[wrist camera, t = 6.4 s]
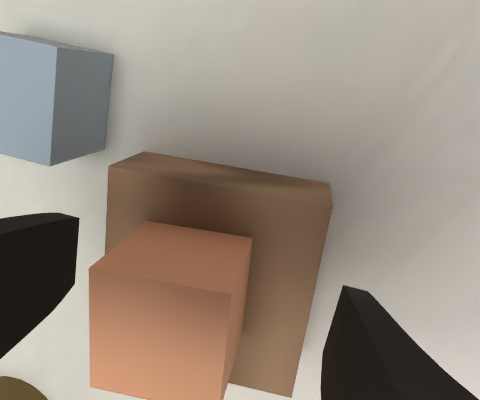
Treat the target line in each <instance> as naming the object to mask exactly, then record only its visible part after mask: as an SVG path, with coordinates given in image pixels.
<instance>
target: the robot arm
mask: <svg viewBox="0 0 480 400" xmlns="http://www.w3.org/2000/svg"><path fill="white" fill-rule="evenodd" d="M78 231H79V218H77V217H73V216H70V215H66V214H62V213H40V214H30V215H23V216H15V217H8V218H1V219H0V359H1V358H2V357H3V356H4V355H5V354H6V353H8V352H9V351H10V350H11V349H12V348H13V347H14V346H15V345H16V344H17V343H19V342H20V341H21V340H22V339H23V338H24V337H25V336H26V335H27V334H29V333H30V332H31V331H32V330H33V329H34V328H35V327H36V326H37V325H38V324H39V323H40V322H42V321H43V320H44V319H45V318H46V317H47V316H48V315H49V314H50V313H51V312H52V311H53V310H54V309H55V308H56V306H57V305H58V304H59V303H60V302H61V301H62V299H63V298H64V297H65V296H66V294H67V293H68V292H69V291H70V289H71V288H72V287H73V285H74V284H75V272H76V258H77V245H78ZM321 400H479V399H478V398H476V397H475V396H474V395H473V394H472V393H470V392H469V391H468V390H467V389H465V388H464V387H463V386H462V385H461V384H459V383H458V382H457V381H456V380H455V379H453V378H452V377H451V376H450V375H449V374H448V373H447V372H445V371H444V370H443V369H442V368H441V367H440V366H439V365H438V364H437V363H436V362H435V361H434V360H433V359H432V358H431V357H430V356H429V355H427V354H426V353H425V352H424V351H423V350H422V349H421V348H420V347H419V346H418V345H417V344H416V343H415V342H414V341H413V340H412V338H411V337H410V336H409V335H408V334H407V333H406V332H405V331H404V330H403V329H402V328H401V327H400V326H399V325H398V323H397V322H396V321H395V320H394V319H393V318H392V317H391V316H390V315H389V313H388V312H387V311H386V310H385V309H384V308H383V307H382V306H381V305H380V303H379V302H378V301H377V300H376V299H375V298H374V297H373V296H372V295H371V294H370V293H369V292H368V291H364V290H360V289H356V288H352V287H348V286H344V285H343V287H342V291H341V294H340V297H339V300H338V304H337V307H336V310H335V314H334V317H333V320H332V324H331V327H330V330H329V334H328V337H327V340H326V343H325V347H324V350H323V357H322V372H321Z"/></svg>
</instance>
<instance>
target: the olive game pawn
mask: <svg viewBox="0 0 480 400" xmlns="http://www.w3.org/2000/svg"><path fill="white" fill-rule="evenodd" d="M0 400H47V399H46V397H45V396H44V395H43V394H41V393H40V392H39V391H38V390H37V389H36V388H35V387H33V386H31V385H29V384H27V383H26V382H24V381H22V380H19V379H15V378H11V377H7V376H6V377H0Z"/></svg>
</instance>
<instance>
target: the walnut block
mask: <svg viewBox="0 0 480 400" xmlns="http://www.w3.org/2000/svg"><path fill="white" fill-rule="evenodd" d="M331 209H332V201H331V194H330V187H329V183H324V182H318V181H312V180H306V179H300V178H295V177H289V176H283V175H277V174H271V173H265V172H260V171H254V170H248V169H242V168H236V167H231V166H225V165H219V164H213V163H207V162H201V161H196V160H190V159H184V158H178V157H172V156H167V155H161V154H155V153H149V152H142V153H139V154H137V155H134V156H132V157H129V158H127V159H124V160H122V161H119V162H117V163H115V164H112V165H110V166H109V168H108V193H107V217H106V242H105V254H107V253H108V252H109V251H110V250H111V249H113V248H114V247H115V246H116V245H117V244H119V243H120V242H121V241H122V240H123V239H124V238H126V237H127V236H128V235H129V234H130V233H132V232H133V231H134V230H135V229H136V228H138V227H139V226H140V225H141V224H142V223H143V222H145V221H150V222H156V223H163V224H169V225H175V226H181V227H188V228H194V229H200V230H206V231H213V232H219V233H225V234H231V235H238V236H244V237H250V238H253V242H252V250H251V259H250V267H249V276H248V284H247V293H246V301H245V310H244V318H243V326H242V335H241V338H240V342H239V345H238V349H237V352H236V356H235V359H234V363H233V366H232V370H231V373H230V377H229V380H228V383H232V384H236V385H240V386H244V387H248V388H253V389H257V390H261V391H265V392H269V393H273V394H278V395H282V396H286V397H290V398H291V397H292V393H293V388H294V383H295V379H296V374H297V369H298V365H299V360H300V355H301V350H302V346H303V341H304V336H305V332H306V327H307V322H308V318H309V313H310V308H311V303H312V299H313V294H314V289H315V285H316V280H317V275H318V271H319V266H320V261H321V256H322V252H323V247H324V242H325V238H326V233H327V228H328V224H329V219H330V214H331Z"/></svg>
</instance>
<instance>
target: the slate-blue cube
mask: <svg viewBox="0 0 480 400" xmlns="http://www.w3.org/2000/svg"><path fill="white" fill-rule="evenodd" d="M113 58H114V55H113V54H108V53H103V52H99V51H94V50H90V49H85V48H81V47H76V46H71V45H67V44H62V43H58V42H53V41H49V40H44V39H39V38H35V37H30V36H26V35H20V34H14V33H7V32H1V31H0V154H3V155H7V156H11V157H15V158H19V159H23V160H27V161H31V162H35V163H39V164H43V165H47V166H52V165H55V164H59V163H62V162H65V161H68V160H71V159H74V158H78V157H81V156H84V155H87V154H90V153H93V152H97V151H100V150H103V149H104V147H105V137H106V127H107V117H108V107H109V97H110V88H111V78H112V68H113Z"/></svg>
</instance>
